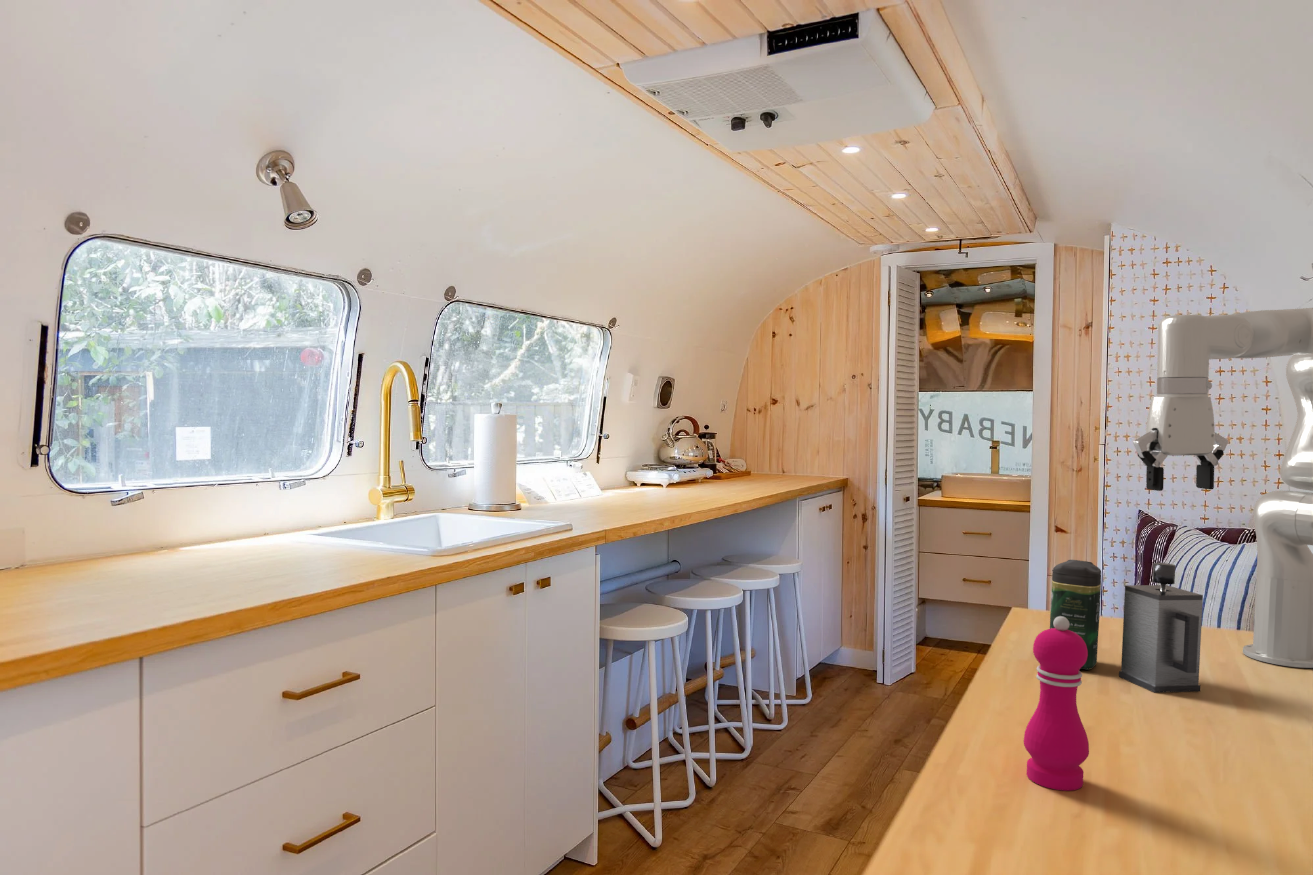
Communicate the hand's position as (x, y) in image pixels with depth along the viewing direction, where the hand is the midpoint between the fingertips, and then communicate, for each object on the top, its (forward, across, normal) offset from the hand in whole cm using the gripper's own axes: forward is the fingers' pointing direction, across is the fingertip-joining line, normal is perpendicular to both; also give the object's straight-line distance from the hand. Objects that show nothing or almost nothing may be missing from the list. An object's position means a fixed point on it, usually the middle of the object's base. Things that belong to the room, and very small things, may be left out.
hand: (1179, 489), depth 150 cm
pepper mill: (+31, +48, +37) cm, 68 cm away
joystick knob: (+26, +6, +3) cm, 27 cm away
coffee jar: (+32, +13, -9) cm, 36 cm away
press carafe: (+32, +6, +5) cm, 33 cm away
